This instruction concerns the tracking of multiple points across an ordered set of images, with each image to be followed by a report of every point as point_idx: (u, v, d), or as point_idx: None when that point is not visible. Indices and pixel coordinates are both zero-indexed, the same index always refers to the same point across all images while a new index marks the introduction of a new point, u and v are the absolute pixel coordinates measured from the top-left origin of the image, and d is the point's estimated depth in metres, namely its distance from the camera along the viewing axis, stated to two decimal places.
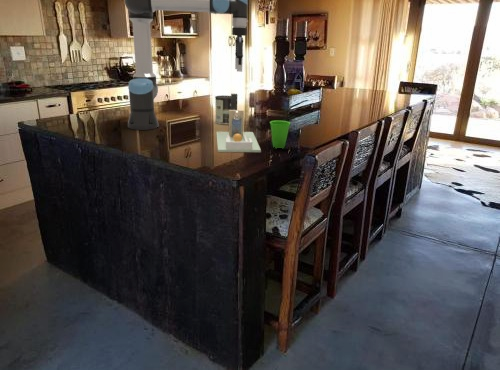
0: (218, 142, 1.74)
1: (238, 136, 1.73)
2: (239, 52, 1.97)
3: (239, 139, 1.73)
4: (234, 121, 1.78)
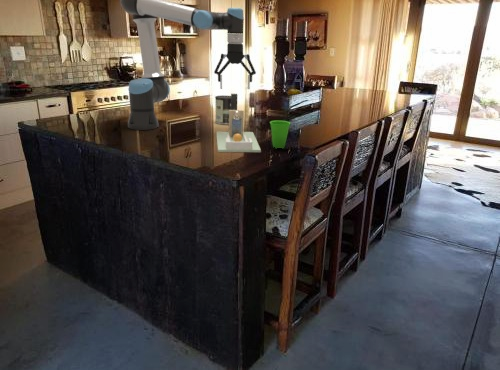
0: (218, 142, 1.74)
1: (238, 136, 1.73)
2: None
3: (239, 139, 1.73)
4: (234, 121, 1.78)
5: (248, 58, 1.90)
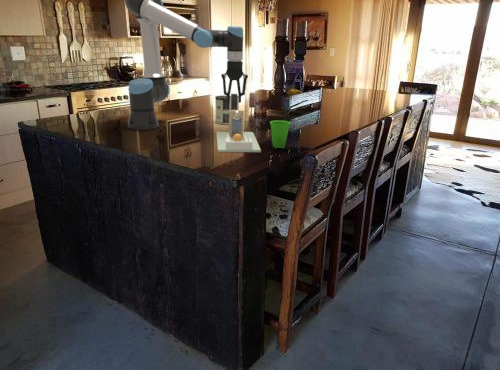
0: (218, 142, 1.74)
1: (238, 136, 1.73)
2: None
3: (239, 139, 1.73)
4: (234, 121, 1.78)
5: (245, 78, 1.93)
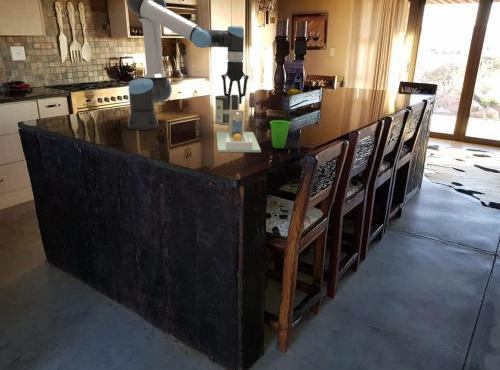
0: (218, 142, 1.74)
1: (238, 136, 1.73)
2: None
3: (239, 139, 1.73)
4: (234, 123, 1.75)
5: (246, 79, 1.90)
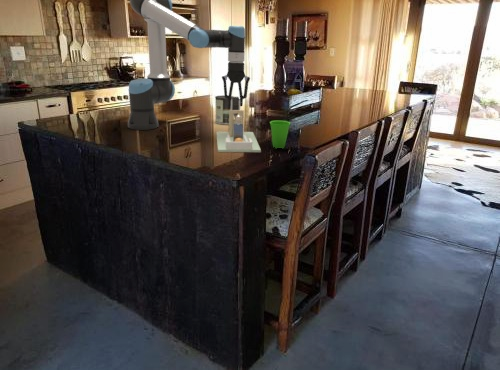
0: (218, 142, 1.74)
1: None
2: (224, 93, 1.86)
3: None
4: (235, 126, 1.69)
5: (247, 81, 1.84)
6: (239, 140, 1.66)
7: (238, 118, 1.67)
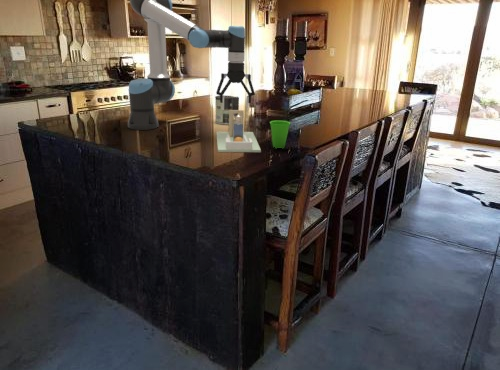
0: (218, 142, 1.74)
1: None
2: (217, 89, 1.85)
3: None
4: (235, 126, 1.69)
5: (249, 78, 1.83)
6: (238, 137, 1.69)
7: (238, 118, 1.67)
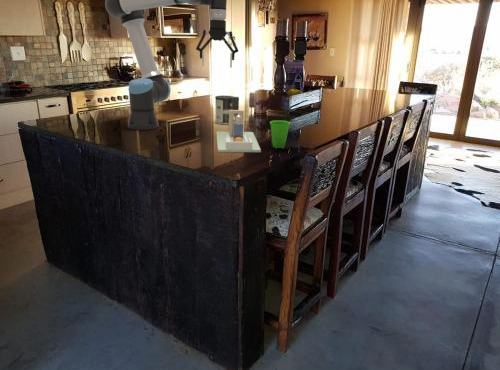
0: (218, 142, 1.74)
1: None
2: (197, 45, 1.89)
3: None
4: (235, 126, 1.69)
5: (231, 35, 1.87)
6: (239, 137, 1.68)
7: (238, 118, 1.67)
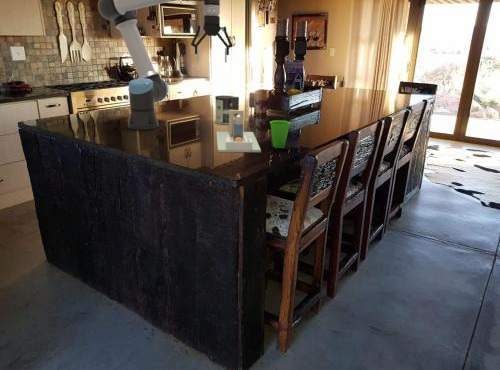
0: (218, 142, 1.74)
1: None
2: None
3: None
4: (235, 126, 1.69)
5: (225, 30, 1.90)
6: (239, 137, 1.68)
7: (238, 118, 1.67)
